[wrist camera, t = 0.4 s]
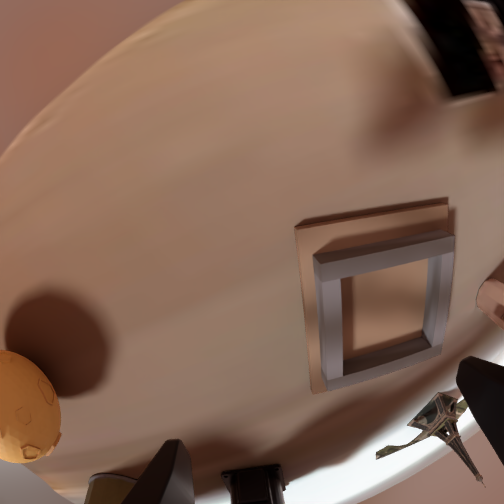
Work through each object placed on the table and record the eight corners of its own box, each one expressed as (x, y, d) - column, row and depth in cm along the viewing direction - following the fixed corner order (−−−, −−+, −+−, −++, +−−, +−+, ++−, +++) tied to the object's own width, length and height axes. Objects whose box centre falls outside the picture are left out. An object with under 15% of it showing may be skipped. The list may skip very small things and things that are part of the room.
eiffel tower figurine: (372, 457, 30) (408, 539, 18) (375, 409, 27) (429, 509, 15) (467, 412, 31) (515, 474, 18) (483, 359, 28) (549, 424, 15)
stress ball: (23, 396, 24) (68, 472, 20) (-53, 395, 15) (-18, 489, 11) (45, 329, 24) (97, 413, 19) (-48, 317, 15) (-17, 426, 10)
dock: (430, 351, 25) (444, 366, 22) (310, 388, 25) (318, 409, 22) (441, 202, 21) (462, 209, 18) (294, 227, 20) (304, 237, 18)
